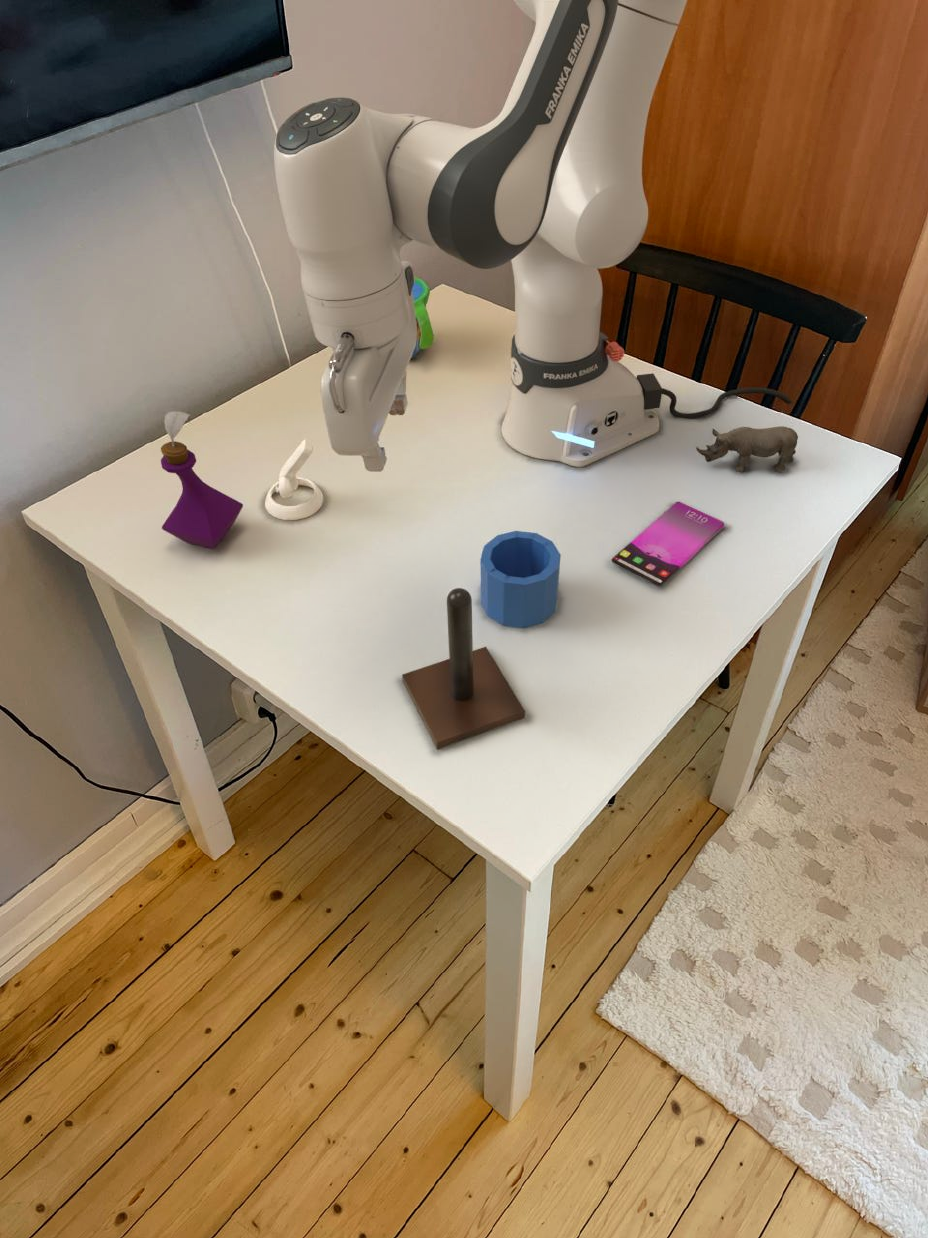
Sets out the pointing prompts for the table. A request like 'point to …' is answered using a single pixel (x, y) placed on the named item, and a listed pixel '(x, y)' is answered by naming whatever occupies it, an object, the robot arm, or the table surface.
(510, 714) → the stand
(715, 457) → the rhino figurine
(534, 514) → the table surface
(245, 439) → the table surface
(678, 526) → the smartphone
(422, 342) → the snack cup
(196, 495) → the perfume bottle
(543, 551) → the tape roll
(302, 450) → the hook
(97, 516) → the table surface
